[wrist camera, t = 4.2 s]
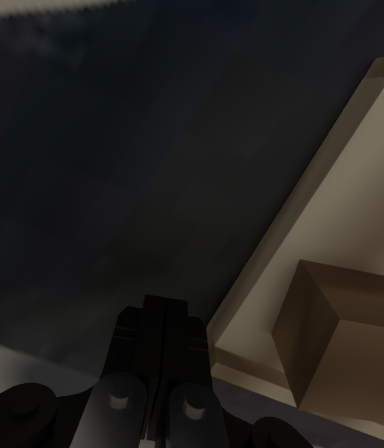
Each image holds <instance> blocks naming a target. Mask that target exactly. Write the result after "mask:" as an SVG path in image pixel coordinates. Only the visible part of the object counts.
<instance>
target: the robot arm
mask: <svg viewBox="0 0 384 448" xmlns="http://www.w3.org/2000/svg"><path fill="white" fill-rule="evenodd" d="M165 299H166V298H165V297H159V296H153V295H147V294H145V298H144V303H143V308H136V307H130V306H127V307H126V308H125V309H124V310H123V311H122V312H121V313H120V314H119V315H118V319H117V322H116V326H115V329H114V333H113V337H112V340H111V343H110V347H109V351H108V354H107V358H106V361H105V365H104V368H103V372H102V375H101V377H100V379H99V380H98V381H97V383H96V384H95V385H93V386H92V387H91V388H89V389H88V390H86V391H84V392H81V393H79V394H74V395H69V396H62V397H56V396H55V394H54V392H53V391H52V390H51V389H50V388H49V387H47V386H45V385H42V384H38V383H24V384H19V385H16V386H13V387H11V388H9V389H7V390H6V391H4V392H2V393H0V448H138V447H139V443H140V439H143V440H144V438H145V434H146V430H147V426H148V431H147V440H152V441H155V448H314V447H313V446H312V445H311V444H310V443H309V442H308V441H307V440H306V439H305V438H304V437H303V436H302V435H301V434H300V433H299V432H298V431H297V430H296V429H295V428H293V427H292V426H291V425H290V424H288V423H287V422H285V421H283V420H281V419H279V418H275V417H263V418H260V419H259V420H257V421H256V422H255V424H254V425H252V424H250V423H248V422H246V421H243V420H241V419H239V418H237V417H235V416H233V415H231V414H230V413H228V412H227V411H226V410H225V409H223V408H222V406H221V404H220V401H219V399H218V397H217V396H216V394H215V393H214V392H213V388H212V378H211V368H210V358H209V352H208V350H209V349H208V343H207V341H208V339H207V329H206V327H205V326H204V324H203V323H202V321H201V319H200V318H196V317H190V316H188V303H187V301H183V300H177V299H171V298H167V299H166V303H165Z"/></svg>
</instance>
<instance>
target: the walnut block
mask: <svg viewBox="0 0 384 448" xmlns="http://www.w3.org/2000/svg"><path fill="white" fill-rule="evenodd" d="M271 335H272V338H273V341H274V343H275V346H276V349H277V352H278V355H279V358H280V361H281V364H282V366H283V369H284V372H285V375H286V378H287V381H288V384H289V387H290V389H291V392H292V395H293V398H294V401H295V404H296V407H297V410H299V411H306V412H313V413H319V414H326V415H333V416H339V417H346V418H353V419H359V420H366V421H372V422H379V423H384V276H383V275H378V274H373V273H368V272H363V271H358V270H353V269H348V268H343V267H338V266H333V265H328V264H322V263H317V262H312V261H307V260H302V259H300V260H299V263H298V265H297V268H296V271H295V273H294V276H293V278H292V281H291V284H290V286H289V289H288V292H287V294H286V297H285V299H284V302H283V305H282V307H281V310H280V312H279V315H278V318H277V320H276V323H275V325H274V328H273V331H272V333H271Z"/></svg>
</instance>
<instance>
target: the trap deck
mask: <svg viewBox="0 0 384 448" xmlns="http://www.w3.org/2000/svg"><path fill="white" fill-rule="evenodd" d="M300 259H302V260H307V261H312V262H317V263H322V264H328V265H333V266H338V267H343V268H348V269H353V270H358V271H363V272H368V273H373V274H378V275H383V276H384V57H381V58H376V59H375V60H374V62H373V63H372V65H371V67H370V68H369V70H368V71H367V73H366V75H365V76H364V78H363V79H362V81H361V82H360V84H359V86H358V87H357V89H356V90H355V92H354V94H353V95H352V97H351V98H350V100H349V102H348V103H347V105H346V106H345V108H344V109H343V111H342V113H341V114H340V116H339V117H338V119H337V121H336V122H335V124H334V125H333V127H332V129H331V130H330V132H329V133H328V135H327V136H326V138H325V140H324V141H323V143H322V144H321V146H320V148H319V149H318V151H317V152H316V154H315V156H314V157H313V159H312V160H311V162H310V163H309V165H308V167H307V168H306V170H305V171H304V173H303V175H302V176H301V178H300V179H299V181H298V183H297V184H296V186H295V187H294V189H293V190H292V192H291V194H290V195H289V197H288V198H287V200H286V202H285V203H284V205H283V206H282V208H281V210H280V211H279V213H278V214H277V216H276V217H275V219H274V221H273V222H272V224H271V225H270V227H269V229H268V230H267V232H266V233H265V235H264V237H263V238H262V240H261V241H260V243H259V244H258V246H257V248H256V249H255V251H254V252H253V254H252V256H251V257H250V259H249V260H248V262H247V264H246V265H245V267H244V268H243V270H242V271H241V273H240V275H239V276H238V278H237V279H236V281H235V283H234V284H233V286H232V287H231V289H230V291H229V292H228V294H227V295H226V297H225V298H224V300H223V302H222V303H221V305H220V306H219V308H218V310H217V311H216V313H215V314H214V316H213V317H212V319H211V321H210V322H209V324H208V325H207V327H206V329H207V339H208V341H207V343H208V349H209V350H208V352H209V358H210V368H211V376H213V377H216V378H218V379H221V380H224V381H226V382H229V383H232V384H234V385H237V386H240V387H242V388H245V389H248V390H251V391H253V392H256V393H259V394H261V395H264V396H267V397H269V398H272V399H275V400H277V401H280V402H283V403H286V404H288V405H291V406H294V407H296V404H295V401H294V398H293V395H292V392H291V389H290V387H289V384H288V381H287V378H286V375H285V372H284V369H283V366H282V364H281V361H280V358H279V355H278V352H277V349H276V346H275V343H274V341H273V338H272V335H271V333H272V331H273V328H274V325H275V323H276V320H277V318H278V315H279V312H280V310H281V307H282V305H283V302H284V299H285V297H286V294H287V292H288V289H289V286H290V284H291V281H292V278H293V276H294V273H295V271H296V268H297V265H298V263H299V260H300ZM296 408H297V407H296ZM310 413H312V414H315V415H318V416H321V417H323V418H326V419H329V420H331V421H334V422H337V423H339V424H342V425H345V426H348V427H350V428H353V429H356V430H358V431H361V432H364V433H366V434H369V435H372V436H374V437H377V438H380V439H383V440H384V423H379V422H372V421H366V420H359V419H353V418H346V417H339V416H333V415H326V414H319V413H313V412H310Z"/></svg>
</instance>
